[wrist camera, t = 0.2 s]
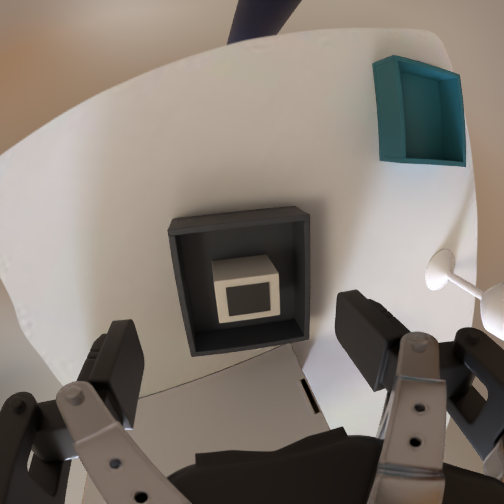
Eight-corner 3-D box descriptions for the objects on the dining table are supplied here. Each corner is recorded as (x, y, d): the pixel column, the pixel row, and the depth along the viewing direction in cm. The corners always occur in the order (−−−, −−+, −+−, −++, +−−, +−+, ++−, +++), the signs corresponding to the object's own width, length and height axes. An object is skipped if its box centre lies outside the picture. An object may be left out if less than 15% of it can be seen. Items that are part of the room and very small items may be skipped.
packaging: (125, 430, 39) (113, 534, 21) (102, 408, 37) (78, 516, 18) (302, 371, 40) (356, 486, 21) (288, 341, 38) (348, 467, 19)
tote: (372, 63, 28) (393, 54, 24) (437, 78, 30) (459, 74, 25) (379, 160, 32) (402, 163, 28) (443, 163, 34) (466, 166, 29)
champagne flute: (418, 285, 39) (537, 377, 16) (437, 243, 37) (569, 317, 15) (442, 294, 41) (548, 376, 18) (460, 256, 39) (576, 324, 16)
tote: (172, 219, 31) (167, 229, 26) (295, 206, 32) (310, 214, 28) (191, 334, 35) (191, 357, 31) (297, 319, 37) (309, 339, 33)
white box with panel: (211, 260, 32) (213, 282, 27) (266, 253, 33) (279, 273, 28) (216, 298, 34) (219, 324, 28) (268, 291, 34) (280, 315, 29)
